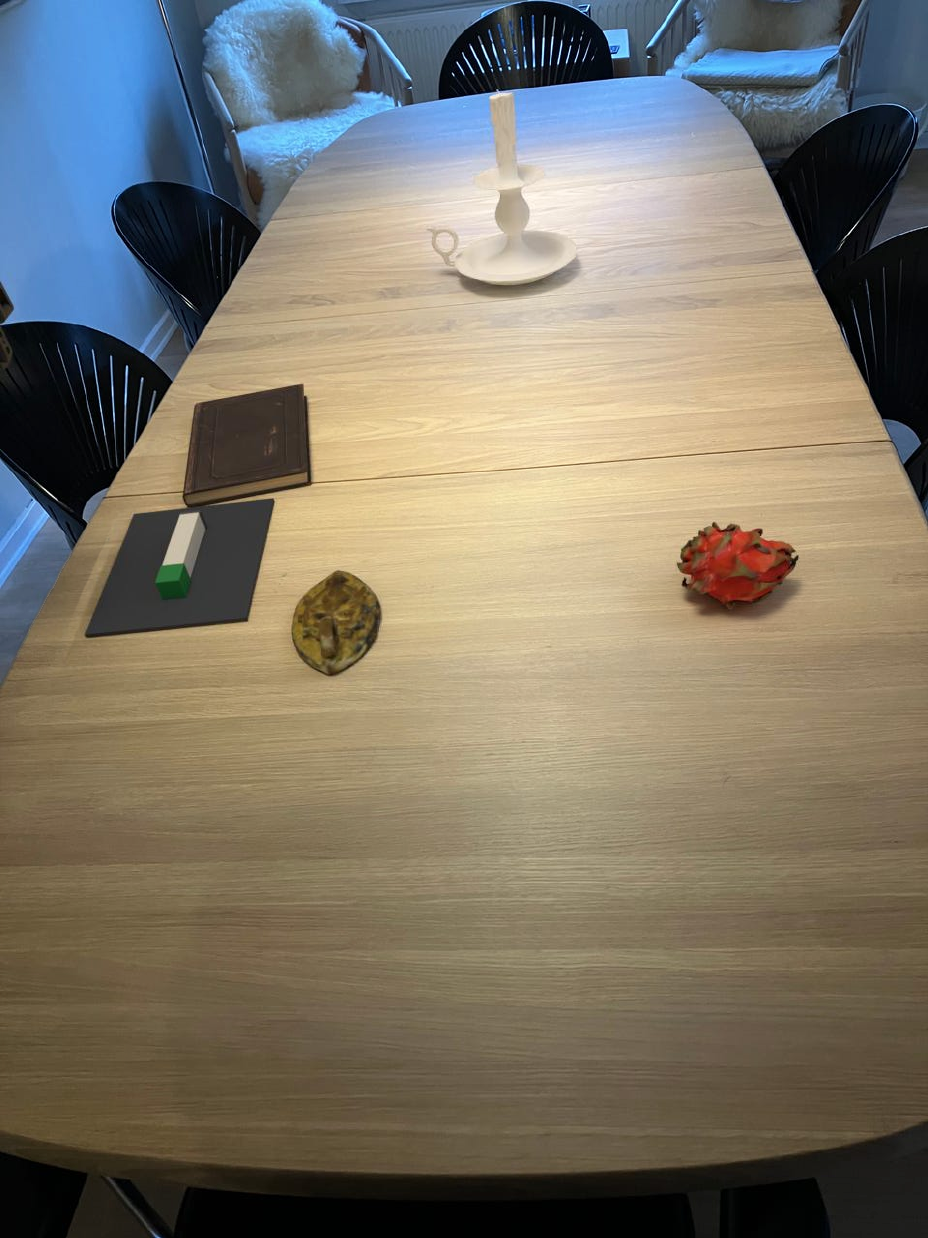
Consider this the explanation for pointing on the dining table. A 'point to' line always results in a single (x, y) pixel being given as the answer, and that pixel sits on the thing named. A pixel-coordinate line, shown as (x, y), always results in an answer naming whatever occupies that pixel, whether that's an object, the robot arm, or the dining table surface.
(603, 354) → the dining table surface
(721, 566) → the dragon fruit
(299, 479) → the hardcover book
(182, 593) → the marker
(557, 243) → the candlestick
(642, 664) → the dining table surface
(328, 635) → the seal
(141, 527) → the mat
